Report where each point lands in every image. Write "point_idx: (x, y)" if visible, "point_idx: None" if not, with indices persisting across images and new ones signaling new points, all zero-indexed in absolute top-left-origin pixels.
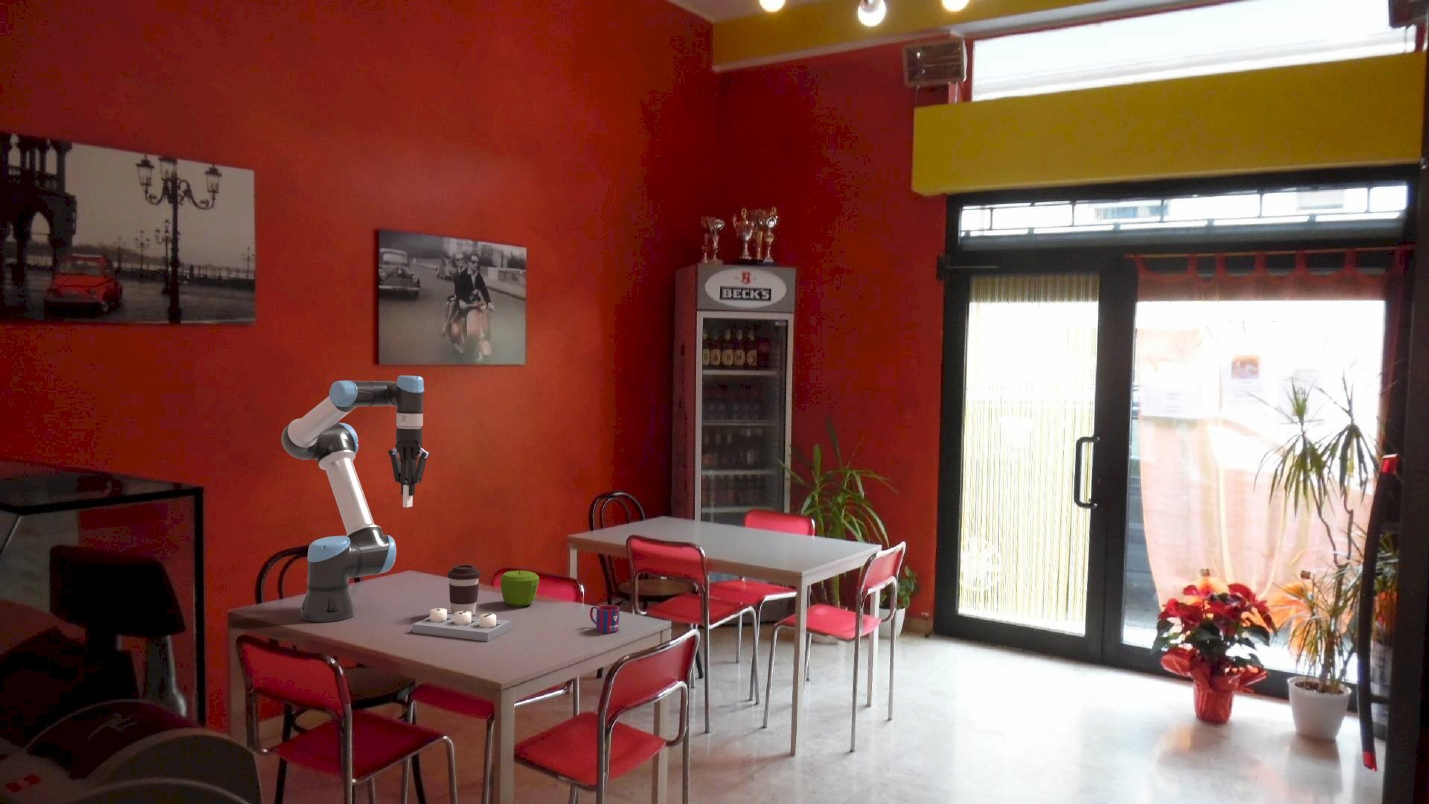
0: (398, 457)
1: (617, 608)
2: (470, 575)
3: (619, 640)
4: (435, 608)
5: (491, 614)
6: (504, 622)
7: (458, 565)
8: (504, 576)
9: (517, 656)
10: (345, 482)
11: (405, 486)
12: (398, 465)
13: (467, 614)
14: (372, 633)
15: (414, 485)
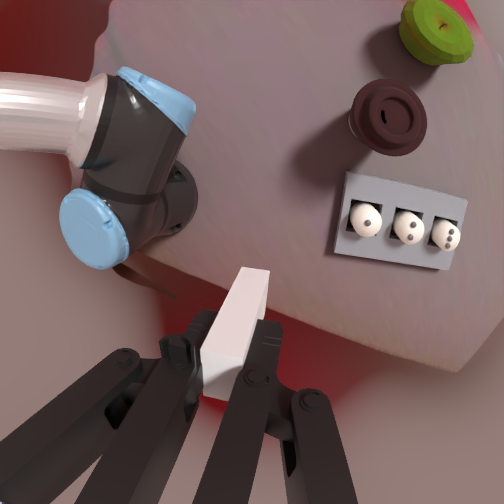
0: (6, 489)
1: None
2: (416, 147)
3: None
4: (358, 211)
5: (453, 232)
6: (461, 211)
7: (376, 105)
8: (426, 41)
9: (473, 309)
10: None
11: (222, 392)
12: (63, 461)
13: (420, 238)
14: (277, 264)
15: (274, 380)
